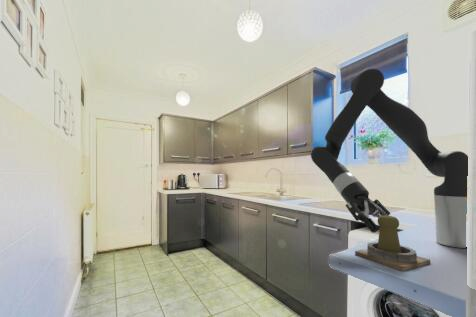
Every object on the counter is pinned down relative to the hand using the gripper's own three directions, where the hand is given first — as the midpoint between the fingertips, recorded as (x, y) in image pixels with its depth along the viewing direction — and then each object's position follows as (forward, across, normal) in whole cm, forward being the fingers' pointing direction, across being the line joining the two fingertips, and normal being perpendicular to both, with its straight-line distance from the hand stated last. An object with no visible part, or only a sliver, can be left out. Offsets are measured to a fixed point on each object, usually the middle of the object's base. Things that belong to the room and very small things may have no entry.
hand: (385, 230), depth 66 cm
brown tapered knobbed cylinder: (+6, 0, +4) cm, 7 cm away
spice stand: (+6, 0, +4) cm, 8 cm away
